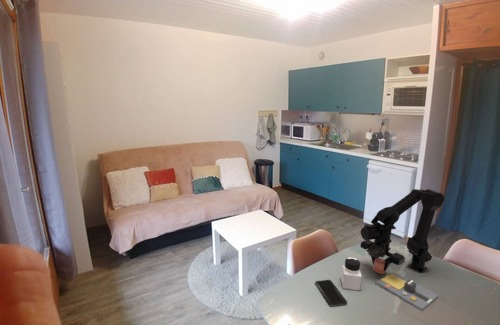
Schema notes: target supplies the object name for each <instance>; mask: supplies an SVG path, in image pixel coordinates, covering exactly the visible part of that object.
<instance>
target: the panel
mask: <svg viewBox="0 0 500 325" xmlns="http://www.w3.org/2000/svg"><path fill="white" fill-rule="evenodd" d="M408 280H409V279H408V278H407V277H405V276H403V275H400V274H398V273H397V272H394V271H392V272H390V273H388V274H387V275H385V276H384V277H382V278H380V279H379V280H377V281H376V282H375V284H376V285H377V286H378V287H380V288H382V289H384V290H385V291H387V292H389V293H391V294H392V295H393V296H396V297H397V298H399V299H401V300H402V301H404V302H406V303H408V304H409V305H410V306H413V307H414V308H416V309H417V310H419V311H421V312H422V311H424V310H425V309H426V308H428V307H429V306H430V304H432V303H433V302H435V301H436V299H438V298H439V294H437V293H435V292H432V291H431V290H430V289H428V288H425V287H424V286H422V285H420V284H418V283H416V289H415V291H413V292H412V293H410V292H408V291H406V290H404V284H405V282H407V281H408Z"/></svg>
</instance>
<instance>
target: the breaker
mask: <svg viewBox="0 0 500 325" xmlns="http://www.w3.org/2000/svg"><path fill="white" fill-rule="evenodd" d="M416 284H417V283H416V282H414V280H412V279H411V280H410V279H408V281H407V282H405V284H404V290H406V291H408V292H410V293H412V292H413V291H415V289H416Z"/></svg>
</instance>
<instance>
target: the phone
mask: <svg viewBox="0 0 500 325" xmlns="http://www.w3.org/2000/svg"><path fill="white" fill-rule="evenodd" d="M314 285H315V287H316V288H317V290H318V291H319V293H320V294H321V296H322V297H323V299H324V300H325V302H326V303H327V305H328V307H330V308H334V307H335V308H336V307H343V306H347V305H348V301H347V300H346V298H345V296H344V295H342V293H341V291H340V290H339V289H338V287H337V286H336V285H335V283H334V282H333V281H332V280H331V279H324V280H322V279H321V280H317V281H315V283H314Z"/></svg>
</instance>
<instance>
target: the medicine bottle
mask: <svg viewBox="0 0 500 325" xmlns="http://www.w3.org/2000/svg"><path fill="white" fill-rule="evenodd" d="M360 267H361V261H360V260H359V259H357V258H355V257H347V258H345V260H344V264H342V267H341V274H340V275H341V276H340V281H341V284H342V288H343V289H347V290H352V291H353V290H354V291H358V292H359V291H361V287H362V277H363V275H362V272H361V269H360Z"/></svg>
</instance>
